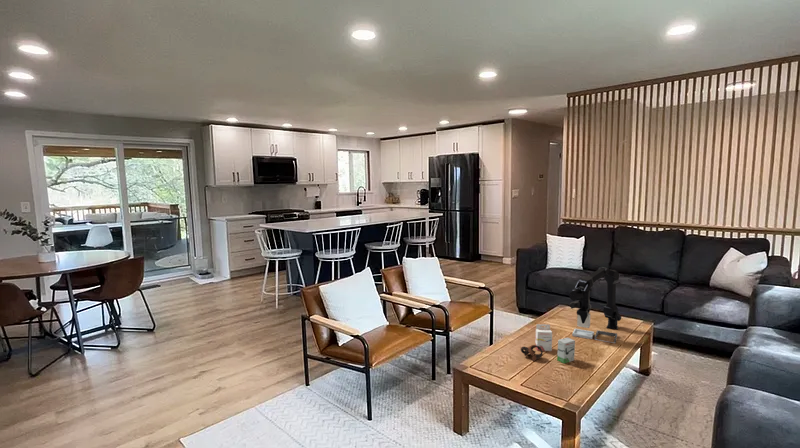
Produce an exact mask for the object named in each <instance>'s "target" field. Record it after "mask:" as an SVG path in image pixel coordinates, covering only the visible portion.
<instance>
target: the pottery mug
mask: <svg viewBox="0 0 800 448" xmlns="http://www.w3.org/2000/svg"><path fill="white" fill-rule="evenodd" d="M536 347H537V348H538V349H539V350H540V351H539V352H540V353H538V354H537V353H536V350H533V349H536ZM520 351H521V353H522V354H523V355H524V356H525V357H526V356H527V355H529V354H530V355H531V356H532V358H531V361H533V362H536V361H537V360H539V359H541V358H542V357H543V356H544V355H543V354H544V353H543V352H544V351H542V349H541V348H540V347H539V346H537V345H535V344H531V345H529V346H527V347H526V346H522V347H521V348H520Z"/></svg>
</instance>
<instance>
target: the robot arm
mask: <svg viewBox="0 0 800 448" xmlns="http://www.w3.org/2000/svg"><path fill="white" fill-rule="evenodd" d="M602 277H604V280H605V281H606V284H607V289H606V292H607V293H606V304H605V306H603V314H604V318H607V325H606V329H611V330H618V329H619V325H618V322H620V321H621V320H622V316H621V315H620V313H619V308H618V306H617V305H616V301H617V300H616V295H617V292H616V290H617V283H618V281H619V280H620V279H619V278H620V272H619V271H617V270H613V269H609V268H608V267H605V266H604V267H603V266H600V267H599V268H598V269H597V270H595V271H594V272H592V273H591V274H590V275H588V276H582V277H581V278H579V279H578V280H577V282H576V285H575V287H574V289H572V290H571V292H570V293H569V299H570V300H571V302H570V303H569V307H570V309H575V308H577V310H576V315H580V317H581V320H582V323H584V322H585V320H586V318H587V316H588V313H590V311H591V309H592V304H591V303H590V301H591V299H590V292H592V291H593V290H592V289H591V288H592V287H593V286H594V283H595V282H597V281H598V280H600V279H601V278H602Z"/></svg>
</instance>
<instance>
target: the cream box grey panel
mask: <svg viewBox="0 0 800 448" xmlns="http://www.w3.org/2000/svg"><path fill="white" fill-rule="evenodd" d="M576 315H577V314H576ZM576 317H577V320H576V321H577V322H576V326H577V327H580V328H585V329H586V328H587V329H590V327H591V313H590V312H589V313H588V316H587V318H586V320H585V322H584V323H582V320H581V317H580V315H577V316H576Z"/></svg>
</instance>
